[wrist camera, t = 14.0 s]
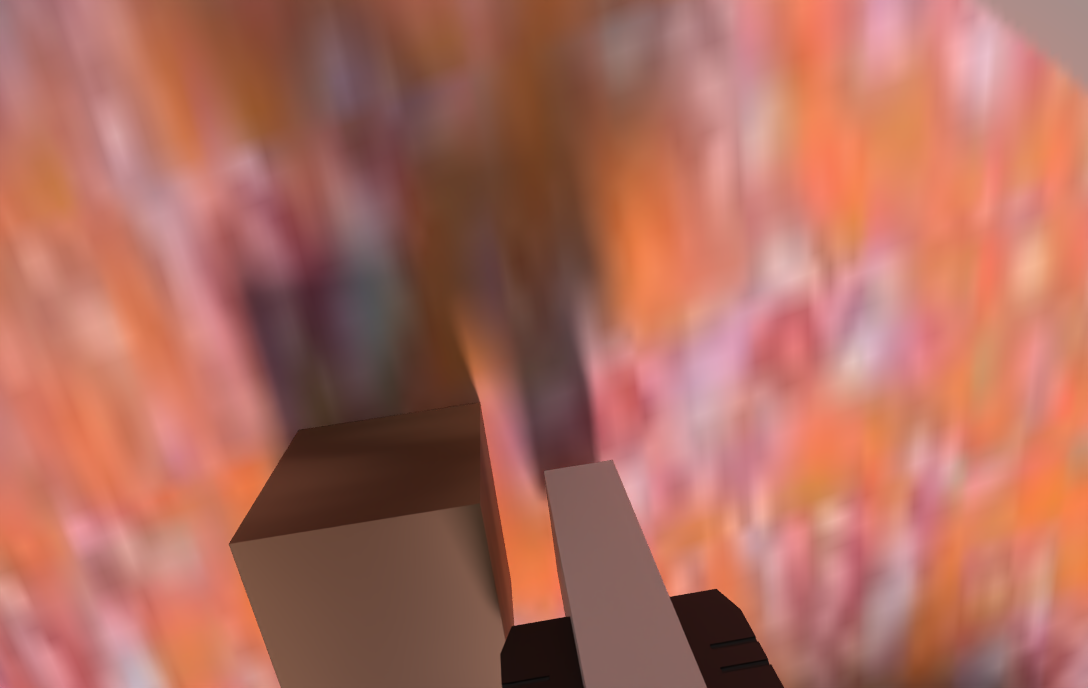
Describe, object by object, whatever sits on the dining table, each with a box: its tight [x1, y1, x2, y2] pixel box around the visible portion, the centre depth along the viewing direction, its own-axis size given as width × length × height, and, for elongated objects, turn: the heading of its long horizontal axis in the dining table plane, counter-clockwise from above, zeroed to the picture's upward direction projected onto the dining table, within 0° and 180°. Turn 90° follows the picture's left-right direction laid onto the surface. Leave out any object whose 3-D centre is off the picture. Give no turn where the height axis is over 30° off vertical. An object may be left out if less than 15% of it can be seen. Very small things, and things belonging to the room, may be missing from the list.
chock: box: [229, 402, 514, 688], centre depth 12 cm, size 4×5×4 cm
